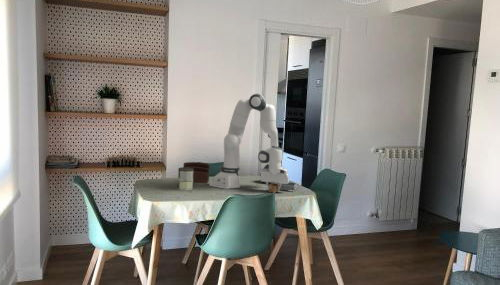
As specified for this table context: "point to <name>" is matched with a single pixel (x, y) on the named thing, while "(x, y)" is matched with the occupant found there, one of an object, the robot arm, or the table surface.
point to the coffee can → (185, 178)
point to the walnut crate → (273, 187)
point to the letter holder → (199, 171)
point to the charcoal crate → (288, 186)
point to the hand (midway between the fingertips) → (273, 188)
